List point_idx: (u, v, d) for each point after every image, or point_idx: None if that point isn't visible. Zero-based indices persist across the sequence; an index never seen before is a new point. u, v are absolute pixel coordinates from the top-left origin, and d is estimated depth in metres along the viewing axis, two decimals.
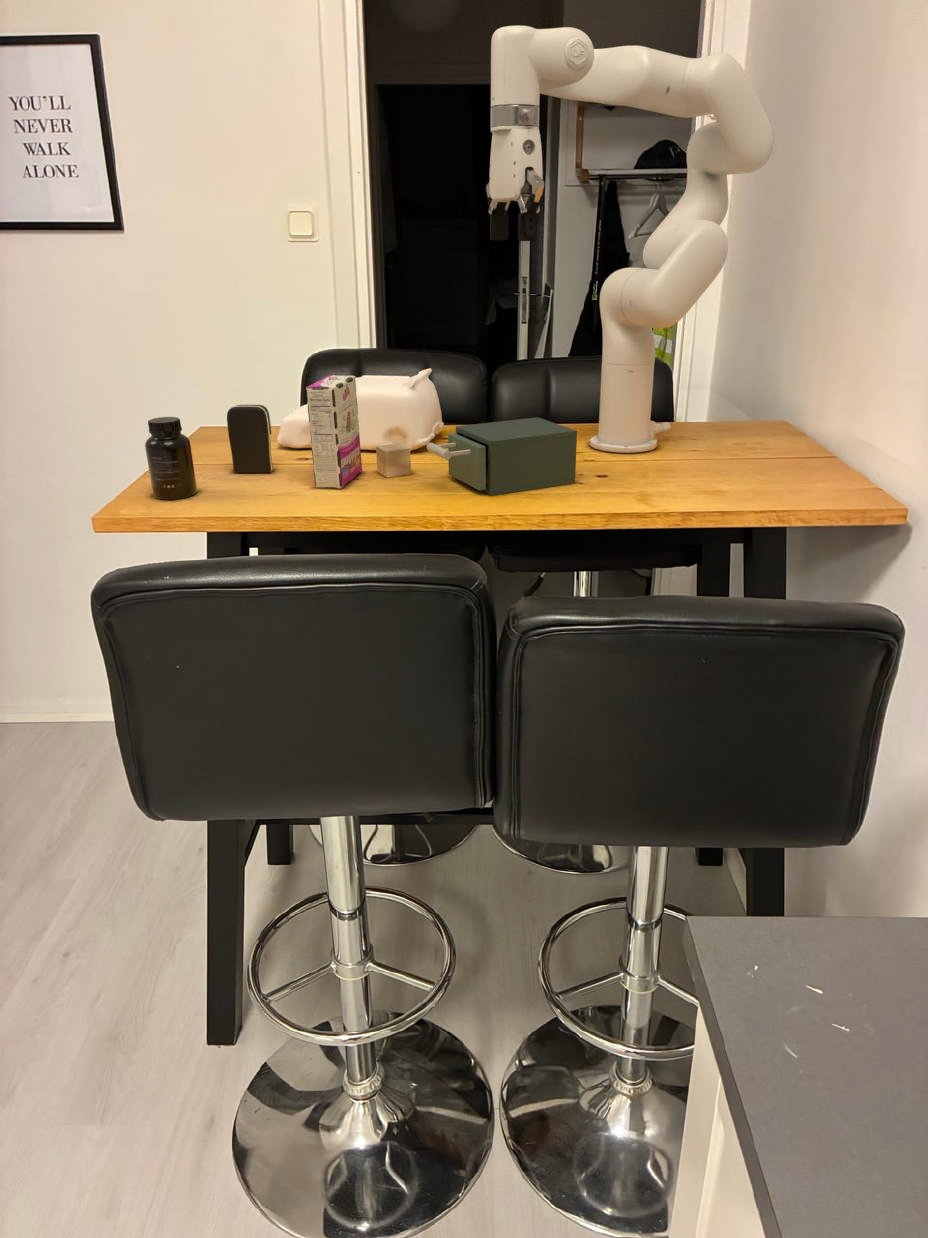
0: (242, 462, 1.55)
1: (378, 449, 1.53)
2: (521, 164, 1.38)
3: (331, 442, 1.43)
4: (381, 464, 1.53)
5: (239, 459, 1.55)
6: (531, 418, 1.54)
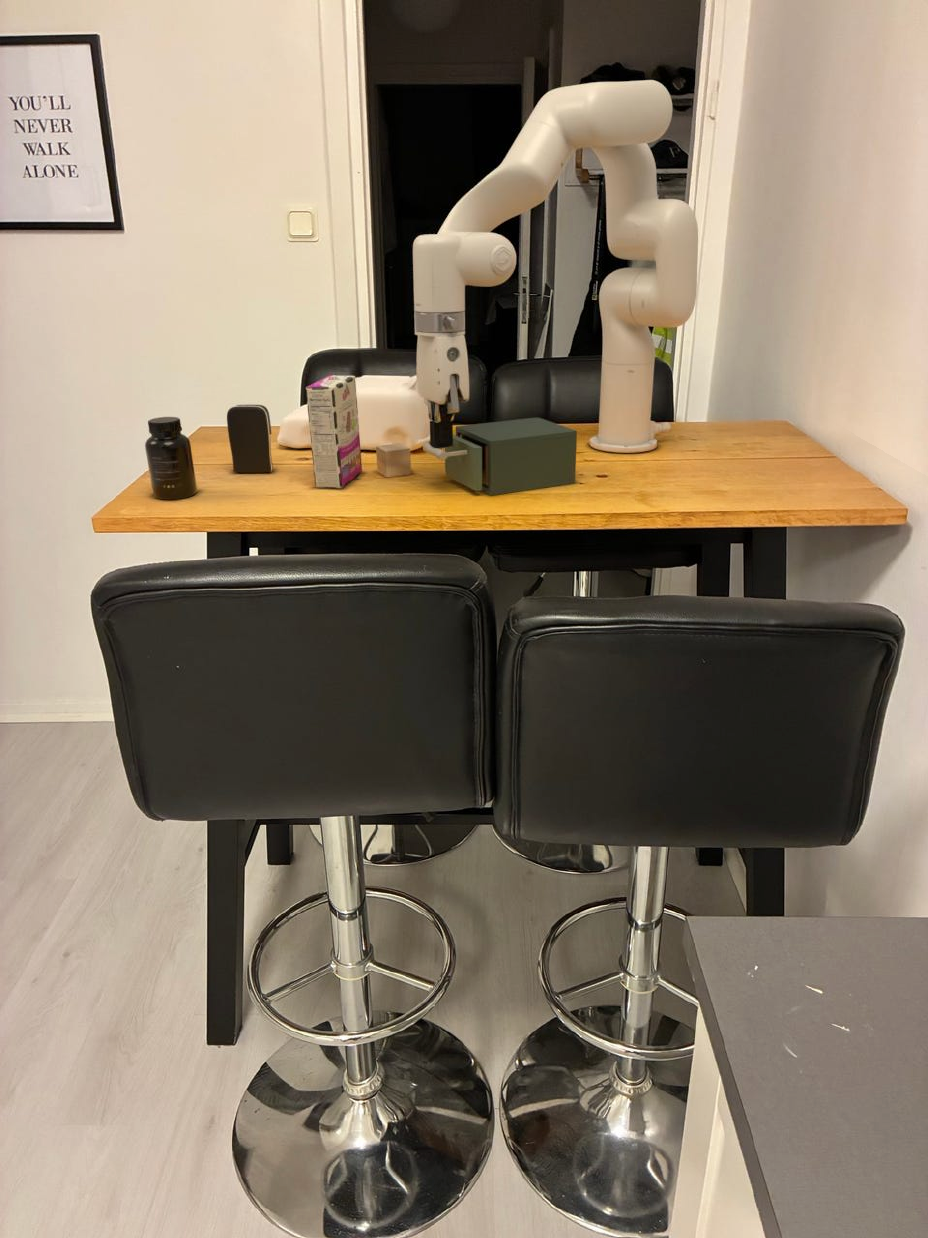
0: (242, 462, 1.55)
1: (378, 449, 1.53)
2: (445, 372, 1.32)
3: (331, 442, 1.43)
4: (381, 464, 1.53)
5: (239, 459, 1.55)
6: (531, 418, 1.54)
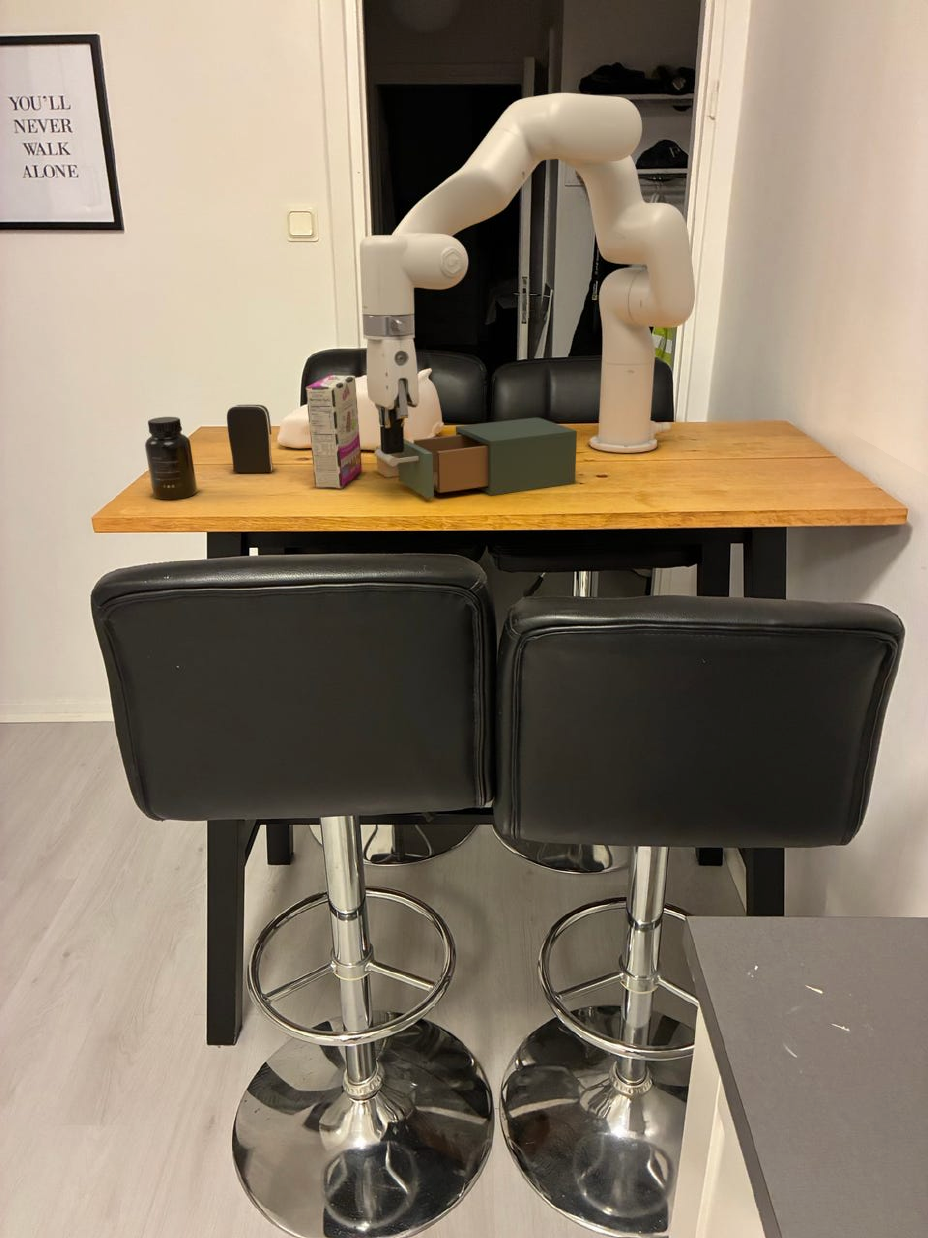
0: (242, 462, 1.55)
1: None
2: (393, 376, 1.29)
3: (331, 442, 1.43)
4: (381, 464, 1.53)
5: (239, 459, 1.55)
6: (531, 418, 1.54)
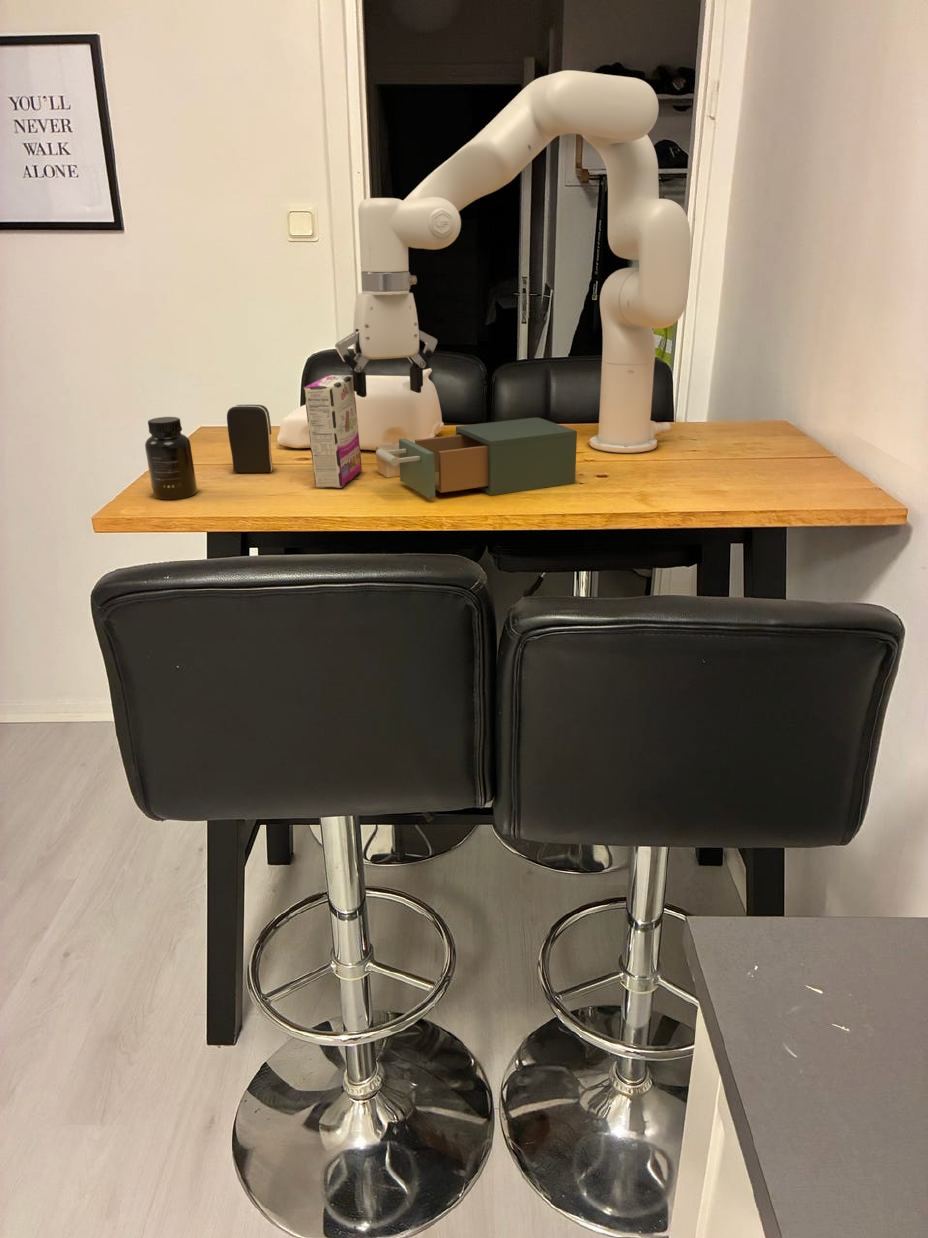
0: (242, 462, 1.55)
1: None
2: None
3: (330, 442, 1.43)
4: (381, 464, 1.53)
5: (239, 459, 1.55)
6: (531, 418, 1.54)
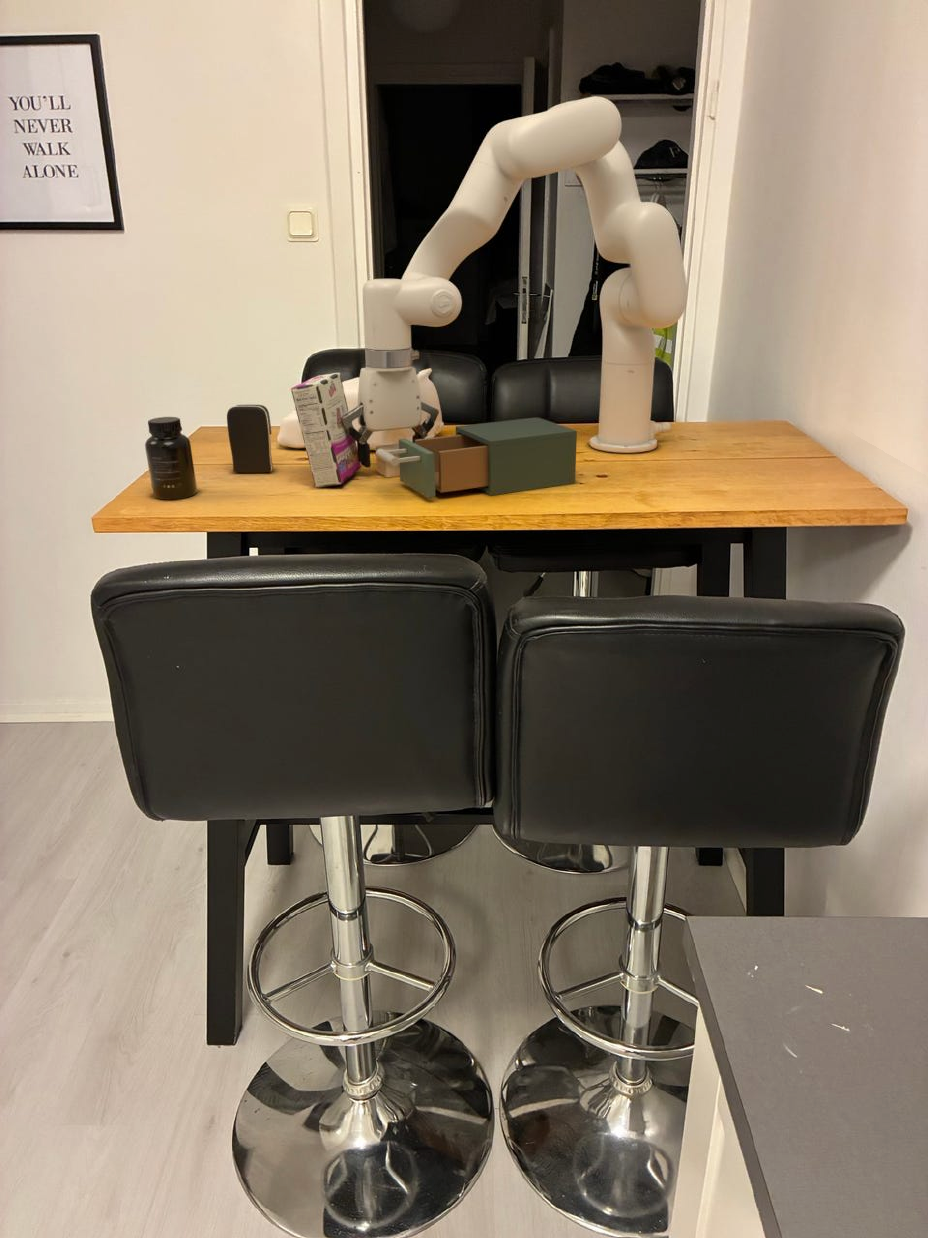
0: (242, 462, 1.55)
1: None
2: None
3: (323, 439, 1.43)
4: (381, 464, 1.53)
5: (239, 459, 1.55)
6: (531, 418, 1.54)
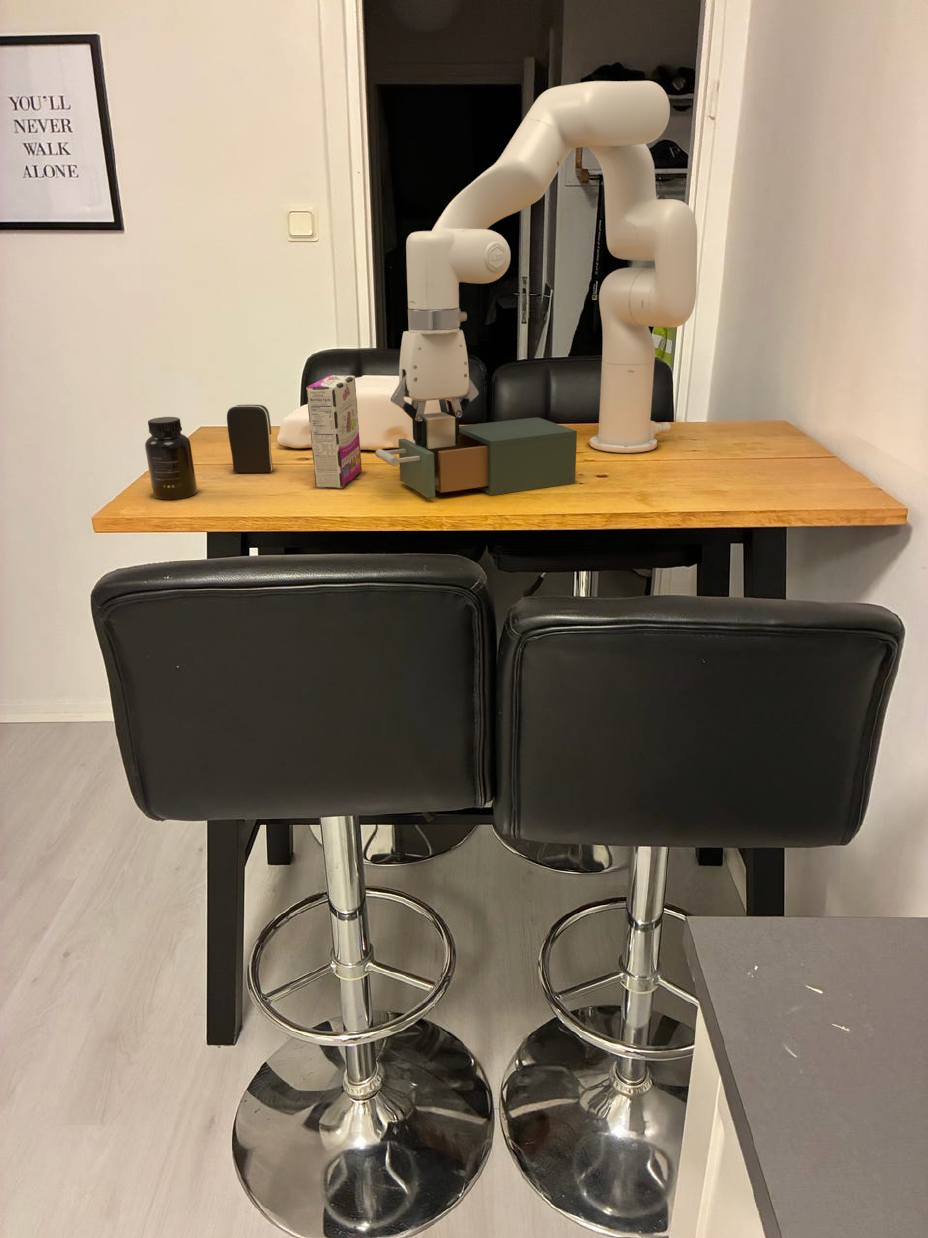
0: (242, 462, 1.55)
1: None
2: None
3: (332, 442, 1.43)
4: None
5: (239, 459, 1.55)
6: (531, 418, 1.54)
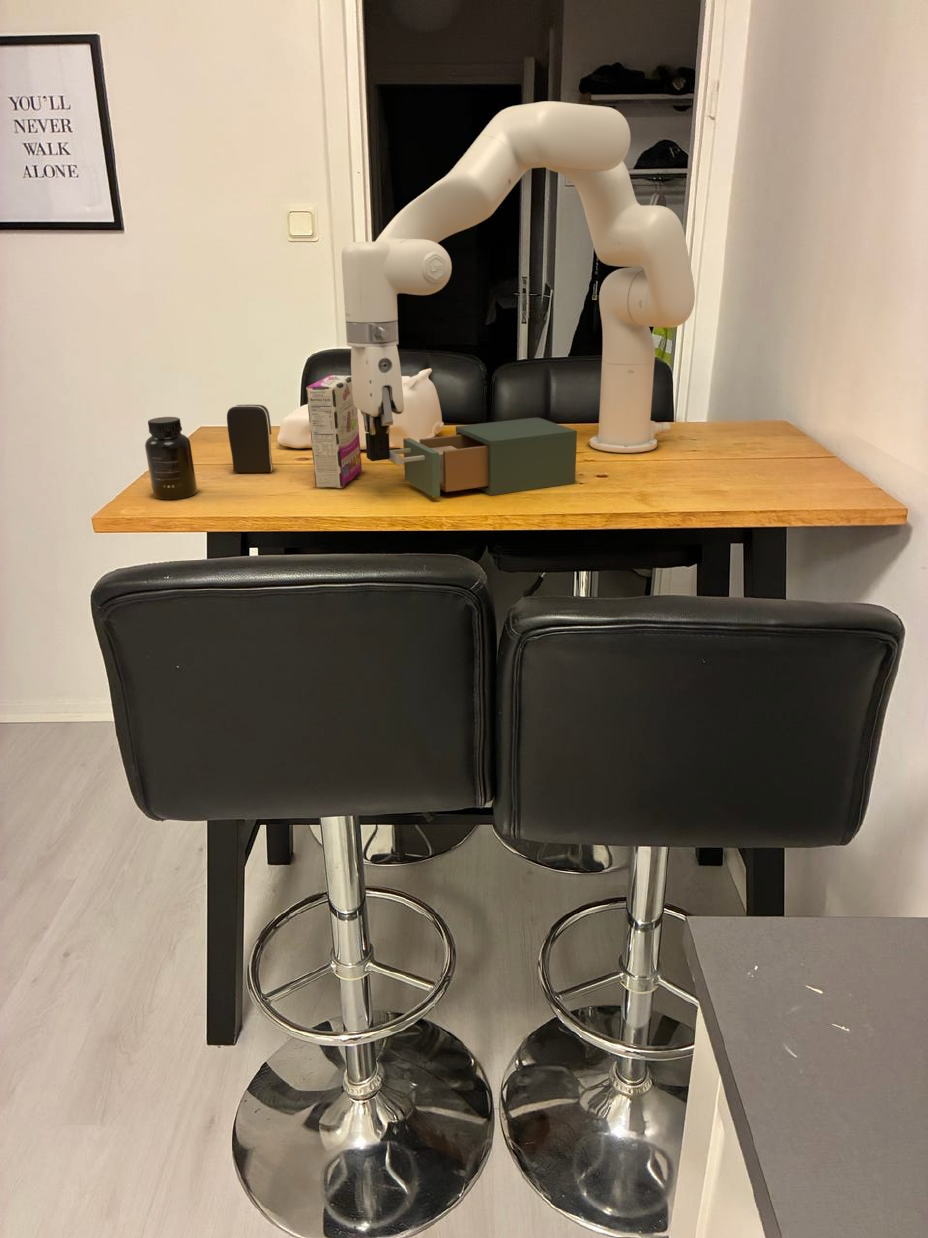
0: (242, 462, 1.55)
1: None
2: (377, 383, 1.29)
3: (332, 442, 1.43)
4: None
5: (239, 459, 1.55)
6: (531, 418, 1.54)
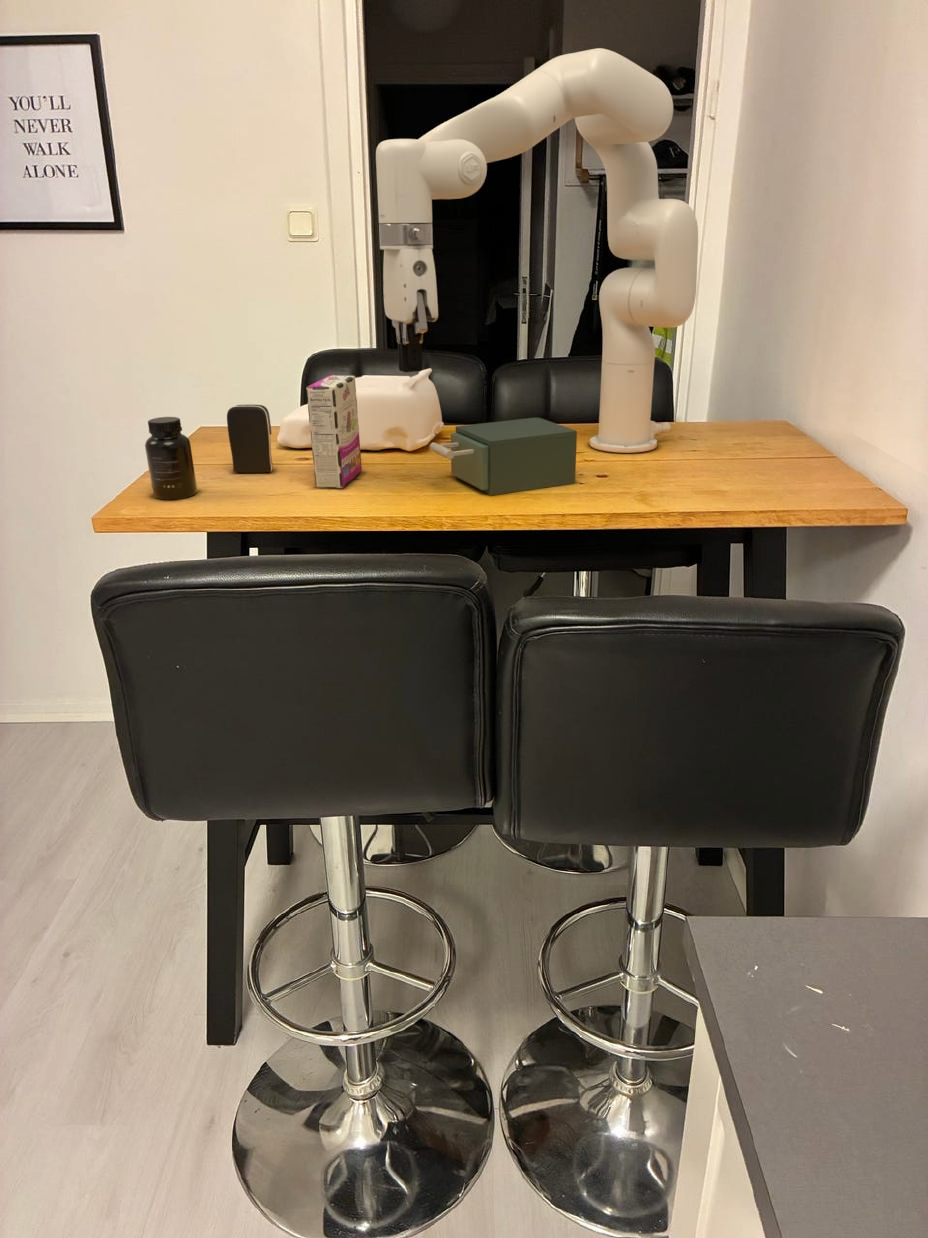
0: (242, 462, 1.55)
1: None
2: (412, 287, 1.26)
3: (332, 442, 1.43)
4: None
5: (239, 459, 1.55)
6: (531, 418, 1.54)
